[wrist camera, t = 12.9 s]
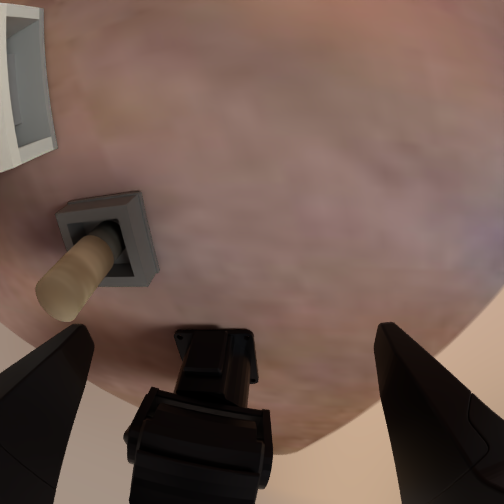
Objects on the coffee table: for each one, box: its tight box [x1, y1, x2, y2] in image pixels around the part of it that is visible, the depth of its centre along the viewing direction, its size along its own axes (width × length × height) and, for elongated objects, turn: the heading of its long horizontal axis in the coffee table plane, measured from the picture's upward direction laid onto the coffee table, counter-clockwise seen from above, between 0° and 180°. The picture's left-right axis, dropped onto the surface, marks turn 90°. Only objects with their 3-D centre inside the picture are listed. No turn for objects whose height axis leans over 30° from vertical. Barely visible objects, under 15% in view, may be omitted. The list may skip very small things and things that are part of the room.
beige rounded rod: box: [36, 221, 126, 322], centre depth 17 cm, size 3×3×8 cm
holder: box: [55, 191, 160, 287], centre depth 20 cm, size 6×6×2 cm
